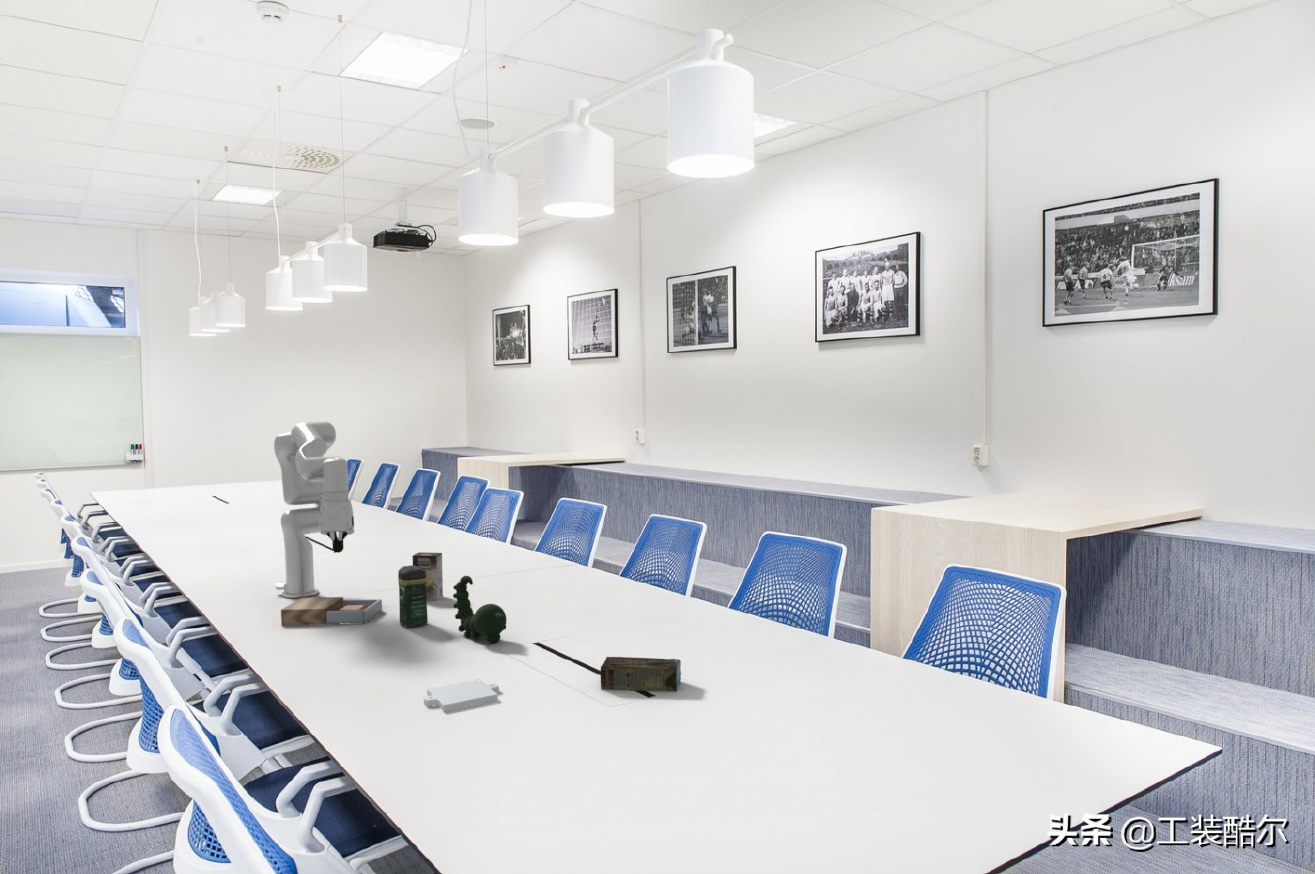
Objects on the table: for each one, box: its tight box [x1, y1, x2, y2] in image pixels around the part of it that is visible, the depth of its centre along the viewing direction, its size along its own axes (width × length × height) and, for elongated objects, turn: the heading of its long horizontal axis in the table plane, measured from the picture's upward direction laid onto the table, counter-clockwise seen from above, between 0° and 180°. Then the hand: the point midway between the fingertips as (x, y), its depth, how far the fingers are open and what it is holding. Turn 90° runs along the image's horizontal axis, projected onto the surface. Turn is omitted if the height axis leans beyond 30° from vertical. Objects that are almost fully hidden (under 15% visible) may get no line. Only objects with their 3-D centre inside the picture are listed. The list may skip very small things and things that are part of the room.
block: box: [339, 605, 365, 611], centre depth 282 cm, size 6×6×3 cm
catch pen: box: [324, 598, 383, 625], centre depth 283 cm, size 13×16×4 cm
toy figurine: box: [452, 575, 507, 644], centre depth 255 cm, size 9×19×25 cm
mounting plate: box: [423, 678, 500, 713], centre depth 206 cm, size 18×13×2 cm
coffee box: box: [412, 551, 444, 601], centre depth 307 cm, size 9×6×16 cm
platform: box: [280, 596, 344, 626], centre depth 283 cm, size 14×16×5 cm
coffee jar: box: [397, 564, 429, 628], centre depth 272 cm, size 10×8×19 cm
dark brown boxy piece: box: [600, 656, 682, 693], centre depth 211 cm, size 8×19×7 cm, turn 82°
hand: (338, 551), depth 283 cm, fingers closed
